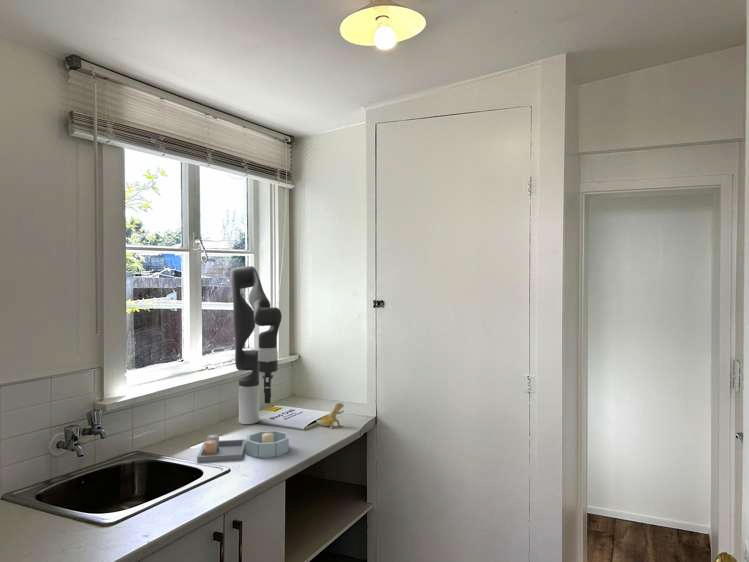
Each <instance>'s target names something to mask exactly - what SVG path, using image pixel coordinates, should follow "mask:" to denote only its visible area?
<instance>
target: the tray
mask: <svg viewBox="0 0 749 562" xmlns="http://www.w3.org/2000/svg"><path fill="white" fill-rule="evenodd" d="M246 439H247V438H246ZM246 439H244V438H243V439H224V440H219V451H217V455H208V456H205V450H204V443H205V442H206V441H207V440H206V441H204V442H203V443H202V446H201V448H200V450H199V452H198V454H197V456H196V463H197V462H199V463H214V462H216V463H217V462H230V461H233V462H235V461H243V458H244V454H245V451H246Z"/></svg>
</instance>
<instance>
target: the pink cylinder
mask: <svg viewBox="0 0 749 562" xmlns="http://www.w3.org/2000/svg"><path fill="white" fill-rule="evenodd" d="M206 438H207V439H206V441H209V440H215V441H217V451H219V441H220V435H219V434H209V435H207V437H206Z"/></svg>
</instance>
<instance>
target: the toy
mask: <svg viewBox="0 0 749 562" xmlns="http://www.w3.org/2000/svg"><path fill="white" fill-rule="evenodd" d="M344 405H345V404H343V403H342V402H338V403H336V404H335V406H334V408H333V409H332V411H331V412H330V415H329V416H324V417H322V418H320V419H317V420H316V423H317V424H318V425H319V426H321V427H329V428H330V430H332V429H334V427H333V426H334V423H337V426H338V427H342V425H341V424H340V420H339V419H337V414H338V415H339V414H340V415H341V414H342V413H344V412H345V410H342V409H343V408H344V407H345V406H344ZM340 410H341V411H340Z"/></svg>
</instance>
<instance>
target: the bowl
mask: <svg viewBox="0 0 749 562" xmlns="http://www.w3.org/2000/svg"><path fill="white" fill-rule="evenodd" d="M263 433H273V440H274V442H268V443H262V434H263ZM289 435H290V434H289V433H288V432H285V431H281V430H276V429H274V430H260V431H256V432H253V433H250V434H248V435H247V436H246V446H245V453H246V455H248V456H250V457H253V458H260V459H266V458H267V459H268V458H275V457H276V458H277V457H281V456H283V455H285V454H287V453H288V452H289V451H290V446H289V445H290V444H289V439H290V437H289Z"/></svg>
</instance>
